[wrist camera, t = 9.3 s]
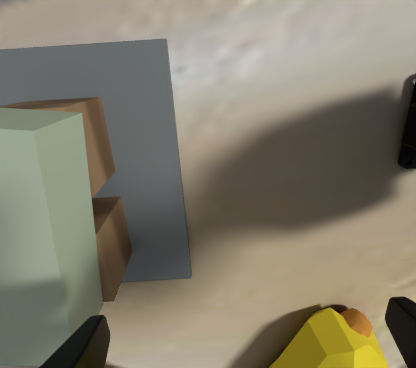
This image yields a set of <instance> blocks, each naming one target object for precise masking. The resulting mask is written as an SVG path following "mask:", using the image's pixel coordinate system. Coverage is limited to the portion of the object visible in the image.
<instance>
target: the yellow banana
mask: <svg viewBox="0 0 416 368" xmlns="http://www.w3.org/2000/svg"><path fill="white" fill-rule="evenodd" d="M268 368H388V365H387V362H386V360H385V358H384V355H383V353H382V351H381V349H380V346H379V344H378V342H377V340H376V337H375V335H374V333H373V331H372V325H371V323H370V321H369V320H368V319H367V318H366V316H365V315H364V314H362V313H361V312H359V311H358V310H355V309H353V308H351V309H349V310H346V311H343V312H342V313H340V314H339V313H337V312H336V311H334V310H333V309H332V308H326V309H323V310H319V311H317V312H315V313H314V314H313V315H312V316H311V317H310V318H309V319H308V320H307V322H306V323H305V324H304V325H303V327H302V328H301V329H300V331H299V332H298V333H297V334H296V336H295V337H294V338H293V340H292V341H291V342H290V344H289V345H288V346H287V347H286V349H285V350H284V351H283V353H282V354H281V355H280V356H279V358H278V359H277V360H276V361H275V362H273V363H272V364H271V365H270V366H269V367H268Z"/></svg>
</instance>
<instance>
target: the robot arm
mask: <svg viewBox="0 0 416 368" xmlns="http://www.w3.org/2000/svg"><path fill="white" fill-rule="evenodd" d="M407 159H408V162H407V163H405V162H406V160H407ZM398 164H399V166H401V167H403V168H405V169H413V168H416V82H415V86H414V91H413V95H412V100H411V104H410V107H409V111H408V116H407V120H406V125H405V129H404V134H403V138H402V145H401V149H400V154H399V159H398ZM385 321H386V324H387V326H388V328H389V330H390V332H391V334H392V336H393V338H394V341H395V343H396V345H397V347H398V349H399V351H400V353H401V355H402V357H403V359H404V361H405V363H406V365H407V367H408V368H416V303H415V302H413V301H412V300H410V299H408V298H406V297H392V298H390V299H389V302H388V306H387V310H386V314H385ZM109 343H110V331H109V327H108V324H107V320H106V317H105V316H104V315H93V316H90V317H89V318H88V319H87V320H86V321H85V322H84V323H83V324H82V325H81V326H80V327H79V328H78V329H77V330H76V331H75V332H74V333H73V334H72V335H71V336H70V337H69V338H68V339H67V340H66V341H65V342H64V343H63V344H62V345H61V346H60V347H59V348H58V349H57V350H56V351H55V352H54V353H53V354H52V355H51V356H50V357H49V358H48V359H47V360H46V361H45V362H44V363H43V364H42V365H41V366H40V367H39V368H104V367H105V362H106V357H107V352H108V348H109Z"/></svg>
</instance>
